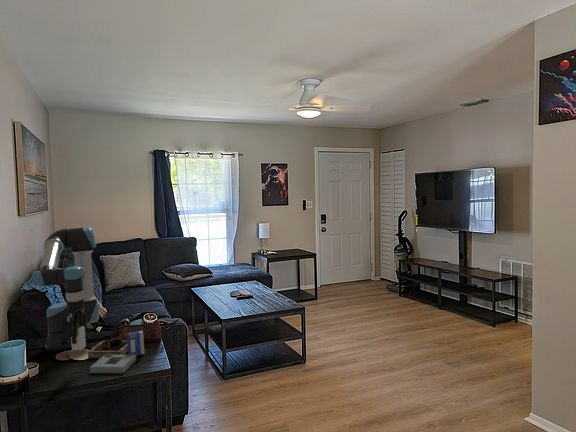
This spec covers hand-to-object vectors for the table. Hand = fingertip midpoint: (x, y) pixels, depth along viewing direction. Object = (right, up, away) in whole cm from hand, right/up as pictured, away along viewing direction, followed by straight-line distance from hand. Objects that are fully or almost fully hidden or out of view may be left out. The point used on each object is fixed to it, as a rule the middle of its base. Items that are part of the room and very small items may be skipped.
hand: (79, 347), depth 202 cm
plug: (0, 0, 0) cm, 0 cm away
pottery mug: (+8, -10, +23) cm, 26 cm away
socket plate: (+15, -11, +4) cm, 19 cm away
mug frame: (+6, -10, +22) cm, 25 cm away
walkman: (+21, -10, +18) cm, 29 cm away
